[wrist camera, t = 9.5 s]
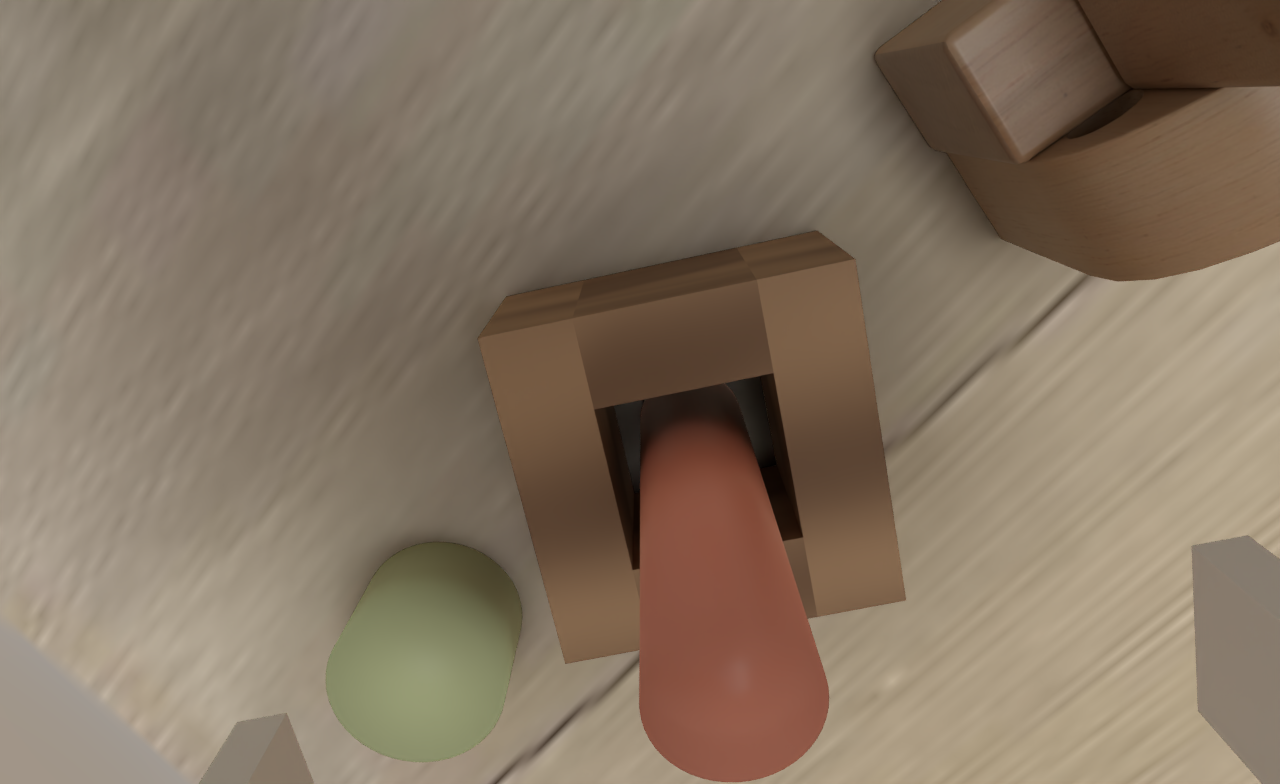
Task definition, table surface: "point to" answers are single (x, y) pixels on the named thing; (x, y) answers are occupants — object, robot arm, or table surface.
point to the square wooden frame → (680, 361)
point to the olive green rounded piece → (427, 653)
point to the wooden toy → (1105, 124)
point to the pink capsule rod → (718, 600)
